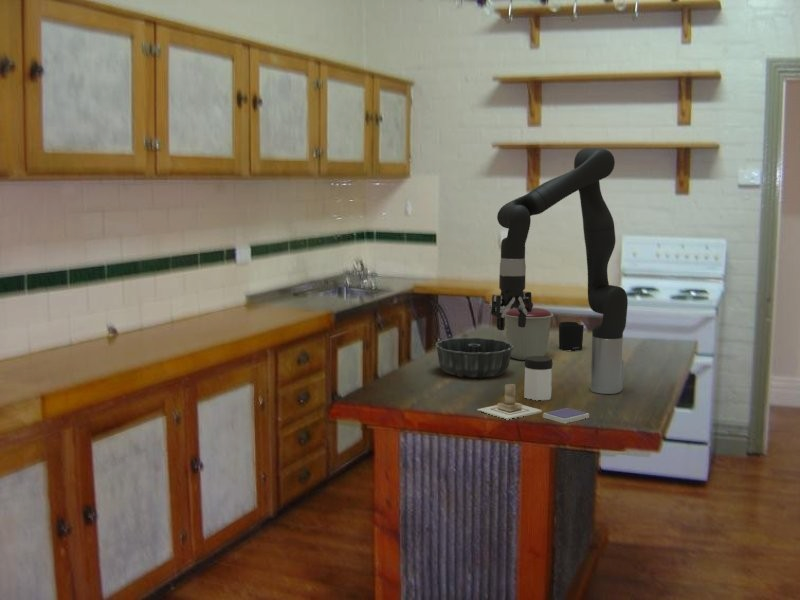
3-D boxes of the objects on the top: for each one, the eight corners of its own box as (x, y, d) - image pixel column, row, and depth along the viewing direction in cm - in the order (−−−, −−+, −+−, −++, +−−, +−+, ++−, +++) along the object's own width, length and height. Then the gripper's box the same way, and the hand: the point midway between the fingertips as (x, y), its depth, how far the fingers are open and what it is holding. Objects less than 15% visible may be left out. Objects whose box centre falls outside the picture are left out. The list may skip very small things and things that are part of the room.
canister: (555, 363, 332) (557, 304, 329) (504, 362, 332) (505, 304, 329) (548, 353, 350) (549, 298, 347) (500, 353, 350) (501, 297, 347)
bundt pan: (509, 383, 300) (510, 353, 298) (428, 379, 305) (429, 349, 304) (516, 367, 325) (516, 339, 324) (441, 363, 331) (441, 336, 329)
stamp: (509, 406, 268) (510, 382, 267) (521, 410, 264) (522, 385, 263) (497, 409, 265) (498, 384, 264) (509, 412, 261) (510, 387, 260)
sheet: (512, 404, 273) (512, 401, 273) (542, 412, 264) (542, 410, 264) (477, 411, 265) (477, 409, 265) (507, 420, 255) (507, 418, 255)
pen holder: (556, 350, 355) (557, 324, 354) (559, 346, 364) (560, 321, 363) (581, 352, 353) (582, 326, 351) (584, 347, 361) (584, 322, 360)
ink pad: (567, 411, 265) (567, 407, 264) (589, 417, 258) (589, 412, 258) (542, 417, 258) (543, 412, 258) (564, 423, 252) (564, 418, 252)
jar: (557, 397, 281) (559, 358, 280) (542, 402, 275) (543, 362, 274) (533, 392, 287) (534, 354, 286) (517, 397, 282) (518, 358, 280)
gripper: (520, 270, 277) (519, 324, 280) (485, 273, 269) (484, 329, 271) (538, 273, 272) (537, 327, 274) (504, 276, 263) (502, 332, 265)
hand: (511, 328), depth 272 cm, fingers open, 8 cm apart
